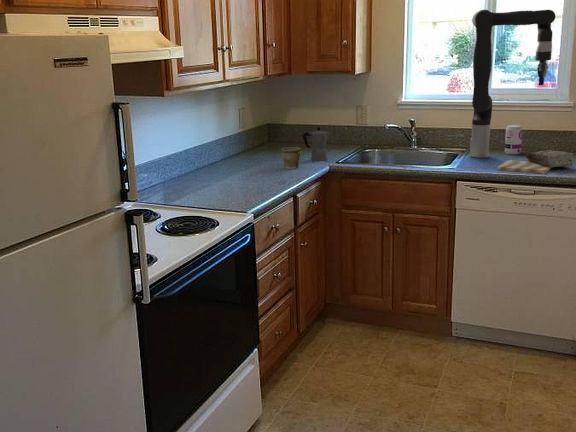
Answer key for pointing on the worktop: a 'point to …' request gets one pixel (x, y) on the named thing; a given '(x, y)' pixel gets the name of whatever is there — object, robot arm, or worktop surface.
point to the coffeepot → (317, 144)
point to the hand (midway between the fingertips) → (541, 85)
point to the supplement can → (513, 139)
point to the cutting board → (523, 167)
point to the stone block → (550, 158)
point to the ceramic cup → (291, 157)
